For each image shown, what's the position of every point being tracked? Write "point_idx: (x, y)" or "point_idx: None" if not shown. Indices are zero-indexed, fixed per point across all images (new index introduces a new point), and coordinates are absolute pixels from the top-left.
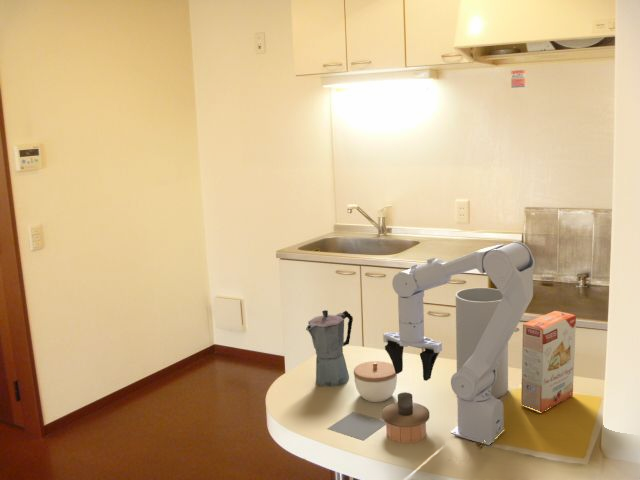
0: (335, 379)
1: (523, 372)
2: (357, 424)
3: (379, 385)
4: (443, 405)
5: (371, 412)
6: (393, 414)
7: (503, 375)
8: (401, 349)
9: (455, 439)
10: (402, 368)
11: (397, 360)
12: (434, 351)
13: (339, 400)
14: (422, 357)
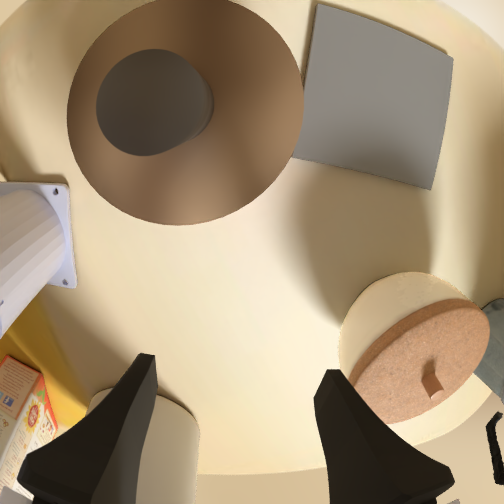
0: (491, 322)
1: (7, 430)
2: (389, 103)
3: (394, 309)
4: (178, 343)
5: (377, 218)
6: (224, 57)
7: None
8: (338, 501)
9: (48, 166)
10: (315, 409)
11: (346, 436)
12: (21, 502)
13: (470, 252)
14: (81, 475)
